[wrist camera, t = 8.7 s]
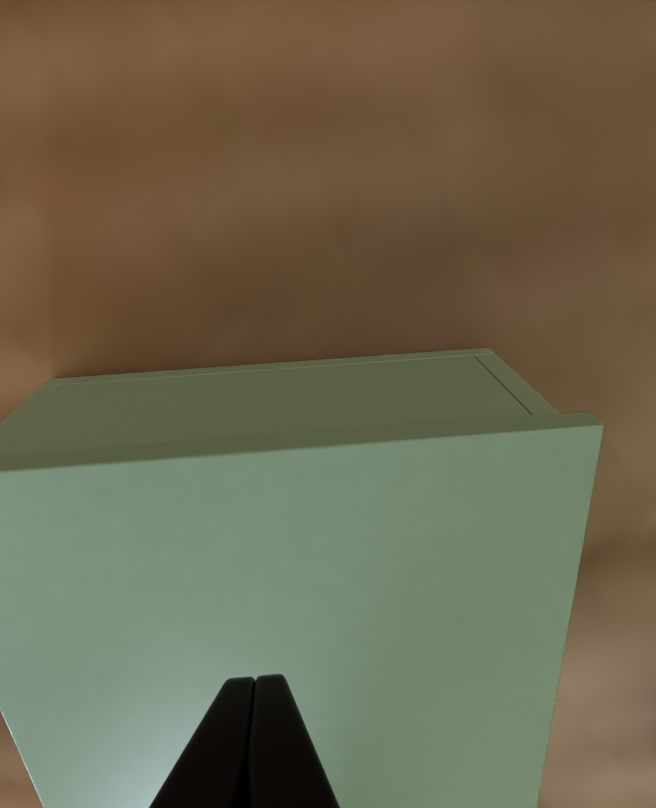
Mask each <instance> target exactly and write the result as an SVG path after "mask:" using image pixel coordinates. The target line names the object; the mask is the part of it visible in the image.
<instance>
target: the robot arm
mask: <svg viewBox="0 0 656 808" xmlns="http://www.w3.org/2000/svg"><path fill="white" fill-rule="evenodd" d="M149 808H340V806H339V804H338V801H337V799H336V797H335V794H334V792H333V790H332V787H331V785H330V782H329V780H328V778H327V775H326V773H325V771H324V768H323V766H322V763H321V761H320V759H319V756H318V754H317V752H316V749H315V747H314V744H313V742H312V740H311V737H310V735H309V733H308V730H307V728H306V725H305V723H304V721H303V718H302V716H301V714H300V711H299V709H298V706H297V704H296V702H295V699H294V697H293V695H292V692H291V690H290V687H289V685H288V683H287V680H286V678H285V677H284V675H282V674H271V675H261V676H258V677H257V678H256V680H255V679H254V678H253V677H251V676H249V677H237V678H229V679H228V680H226V681H225V683H224V684H223V686H222V687H221V689H220V691H219V692H218V694H217V695H216V697H215V699H214V700H213V702H212V704H211V705H210V707H209V709H208V710H207V712H206V714H205V715H204V717H203V719H202V720H201V722H200V724H199V725H198V727H197V729H196V730H195V732H194V734H193V735H192V737H191V739H190V740H189V742H188V744H187V745H186V747H185V749H184V750H183V752H182V753H181V755H180V757H179V758H178V760H177V762H176V763H175V765H174V767H173V768H172V770H171V772H170V773H169V775H168V777H167V778H166V780H165V782H164V783H163V785H162V787H161V788H160V790H159V792H158V793H157V795H156V797H155V798H154V800H153V802H152V803H151V805H150V806H149Z"/></svg>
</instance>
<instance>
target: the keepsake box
mask: <svg viewBox="0 0 656 808" xmlns="http://www.w3.org/2000/svg"><path fill="white" fill-rule="evenodd" d="M552 413H559V412H558V411H557V410H556V409H555V408H554V407H553V406H552V405H551V404H550V403H549V402H547V401H546V400H545V399H544V398H543V397H542V396H541V395H540V394H539V393H538V392H537V391H535V390H534V389H533V388H532V387H531V386H530V385H529V384H528V383H527V382H526V381H525V380H523V379H522V378H521V377H520V376H519V375H518V374H517V373H516V372H515V371H514V370H512V369H511V368H510V367H509V366H508V365H507V364H506V363H505V362H504V361H503V360H502V359H500V358H499V357H498V356H497V355H496V354H495V353H494V352H493V351H492V350H491V349H489V348H475V349H461V350H447V351H433V352H419V353H405V354H391V355H377V356H362V357H348V358H334V359H320V360H306V361H292V362H278V363H264V364H250V365H236V366H222V367H208V368H194V369H180V370H166V371H152V372H138V373H124V374H110V375H96V376H82V377H68V378H54V379H49V380H48V381H47V382H46V383H44V384H43V385H42V386H41V387H40V388H39V389H37V390H36V391H35V392H34V393H33V394H32V395H31V396H29V397H28V398H27V399H26V400H25V401H24V402H23V403H22V404H20V405H19V406H18V407H17V408H16V409H15V410H14V411H12V412H11V413H10V414H9V415H8V416H7V417H6V418H5V419H3V420H2V421H1V422H0V455H8V454H21V453H35V452H48V451H61V450H74V449H88V448H101V447H114V446H127V445H141V444H154V443H167V442H181V441H194V440H207V439H220V438H234V437H247V436H260V435H273V434H287V433H300V432H313V431H326V430H340V429H353V428H366V427H379V426H393V425H406V424H419V423H432V422H446V421H459V420H472V419H486V418H499V417H512V416H525V415H539V414H552Z"/></svg>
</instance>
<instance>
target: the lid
mask: <svg viewBox="0 0 656 808" xmlns="http://www.w3.org/2000/svg"><path fill="white" fill-rule="evenodd" d="M603 428H604V426H603V424H602V423H601V422H600V421H599V420H598V419H597V418H596V417H595V416H593V415H592V414H591V413H590V412H589V411H578V412H565V413H552V414H539V415H525V416H512V417H499V418H486V419H472V420H459V421H446V422H432V423H419V424H406V425H393V426H379V427H366V428H353V429H340V430H326V431H313V432H300V433H287V434H273V435H260V436H247V437H234V438H220V439H207V440H194V441H181V442H167V443H154V444H141V445H127V446H114V447H101V448H88V449H74V450H61V451H48V452H35V453H21V454H8V455H0V710H1V712H2V714H3V717H4V719H5V721H6V723H7V726H8V728H9V730H10V732H11V735H12V737H13V739H14V741H15V744H16V746H17V748H18V750H19V753H20V755H21V757H22V759H23V762H24V764H25V766H26V768H27V771H28V773H29V775H30V777H31V780H32V782H33V784H34V787H35V789H36V791H37V793H38V796H39V798H40V800H41V802H42V805H43V807H44V808H149V806H150V805H151V803H152V802H153V800H154V798H155V797H156V795H157V793H158V792H159V790H160V788H161V787H162V785H163V783H164V782H165V780H166V778H167V777H168V775H169V773H170V772H171V770H172V768H173V767H174V765H175V763H176V762H177V760H178V758H179V757H180V755H181V753H182V752H183V750H184V749H185V747H186V745H187V744H188V742H189V740H190V739H191V737H192V735H193V734H194V732H195V730H196V729H197V727H198V725H199V724H200V722H201V720H202V719H203V717H204V715H205V714H206V712H207V710H208V709H209V707H210V705H211V704H212V702H213V700H214V699H215V697H216V695H217V694H218V692H219V691H220V689H221V687H222V686H223V684H224V683H225V681H226V680H228V679H229V678H237V677H249V676H251V677H253V678H254V679H255V680H256V678H257V677H258V676H261V675H271V674H282V675H284V677H285V678H286V680H287V683H288V685H289V687H290V690H291V692H292V695H293V697H294V699H295V702H296V704H297V706H298V709H299V711H300V714H301V716H302V718H303V721H304V723H305V725H306V728H307V730H308V733H309V735H310V737H311V740H312V742H313V744H314V747H315V749H316V752H317V754H318V756H319V759H320V761H321V763H322V766H323V768H324V771H325V773H326V775H327V778H328V780H329V782H330V785H331V787H332V790H333V792H334V794H335V797H336V799H337V801H338V804H339V806H340V808H537V803H538V797H539V791H540V786H541V780H542V774H543V769H544V763H545V757H546V752H547V746H548V740H549V735H550V729H551V723H552V718H553V712H554V706H555V701H556V695H557V689H558V684H559V678H560V672H561V667H562V661H563V655H564V649H565V644H566V638H567V632H568V627H569V621H570V615H571V610H572V604H573V598H574V593H575V587H576V581H577V576H578V570H579V564H580V559H581V553H582V547H583V542H584V536H585V530H586V525H587V519H588V513H589V508H590V502H591V496H592V490H593V485H594V479H595V473H596V468H597V462H598V456H599V451H600V445H601V439H602V434H603Z"/></svg>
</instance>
